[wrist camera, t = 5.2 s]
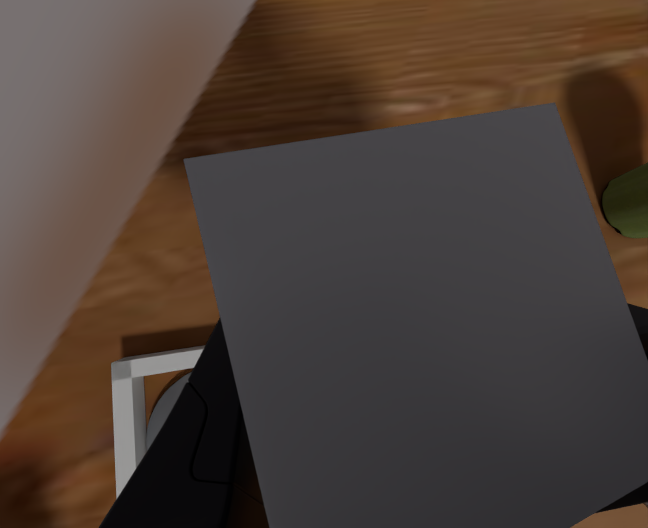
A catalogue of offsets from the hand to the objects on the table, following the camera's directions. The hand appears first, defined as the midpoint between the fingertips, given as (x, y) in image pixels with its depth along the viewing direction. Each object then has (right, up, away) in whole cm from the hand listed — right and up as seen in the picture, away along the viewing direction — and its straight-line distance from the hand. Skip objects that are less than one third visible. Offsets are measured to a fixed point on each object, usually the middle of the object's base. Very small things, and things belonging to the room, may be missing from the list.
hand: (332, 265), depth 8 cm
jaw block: (-1, -2, +6) cm, 7 cm away
